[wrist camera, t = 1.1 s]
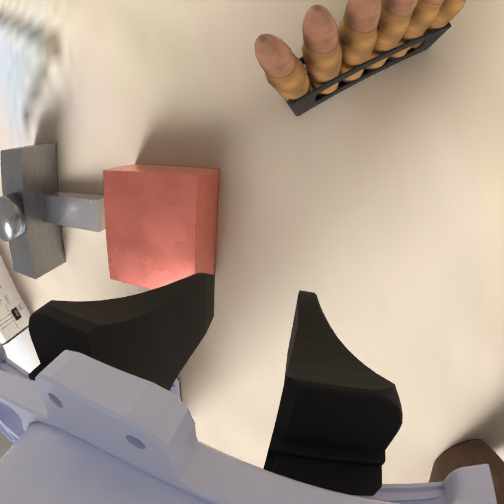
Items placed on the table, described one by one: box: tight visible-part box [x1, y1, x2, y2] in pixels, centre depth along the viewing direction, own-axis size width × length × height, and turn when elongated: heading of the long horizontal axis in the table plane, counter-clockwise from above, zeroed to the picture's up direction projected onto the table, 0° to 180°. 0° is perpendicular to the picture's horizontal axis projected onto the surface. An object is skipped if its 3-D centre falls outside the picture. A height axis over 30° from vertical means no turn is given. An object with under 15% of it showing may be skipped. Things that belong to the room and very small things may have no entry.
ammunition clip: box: [255, 0, 466, 116], centre depth 10 cm, size 11×2×12 cm, turn 123°
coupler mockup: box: [0, 143, 106, 279], centre depth 22 cm, size 12×11×6 cm
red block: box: [103, 164, 220, 289], centre depth 21 cm, size 8×7×4 cm
